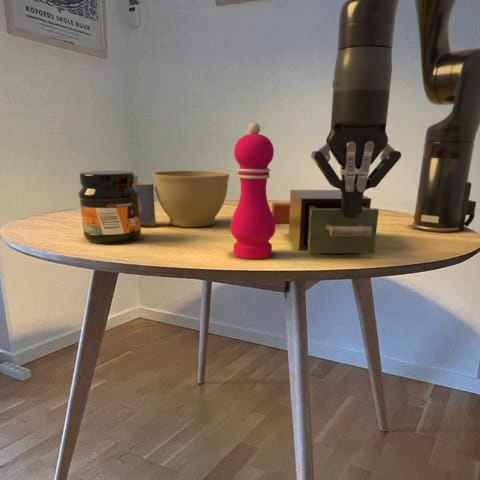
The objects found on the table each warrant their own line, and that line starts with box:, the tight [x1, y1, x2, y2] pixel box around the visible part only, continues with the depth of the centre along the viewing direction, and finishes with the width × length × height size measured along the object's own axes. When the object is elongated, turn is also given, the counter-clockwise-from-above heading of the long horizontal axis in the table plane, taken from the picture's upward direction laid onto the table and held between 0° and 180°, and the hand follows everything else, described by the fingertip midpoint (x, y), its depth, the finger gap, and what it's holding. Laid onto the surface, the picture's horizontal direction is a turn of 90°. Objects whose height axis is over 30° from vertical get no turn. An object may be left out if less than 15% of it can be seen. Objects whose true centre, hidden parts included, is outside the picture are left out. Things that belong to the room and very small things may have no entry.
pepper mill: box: [229, 122, 276, 260], centre depth 73 cm, size 7×7×20 cm
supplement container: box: [78, 170, 142, 245], centre depth 86 cm, size 10×10×12 cm
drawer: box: [304, 204, 380, 254], centre depth 76 cm, size 17×10×7 cm, turn 2°
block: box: [271, 202, 290, 224], centre depth 106 cm, size 4×4×4 cm
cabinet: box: [288, 189, 372, 251], centre depth 85 cm, size 14×12×9 cm
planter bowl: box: [152, 170, 230, 228], centre depth 101 cm, size 16×16×11 cm
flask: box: [133, 173, 157, 228], centre depth 100 cm, size 9×3×11 cm, turn 61°
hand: (350, 217), depth 70 cm, fingers closed
